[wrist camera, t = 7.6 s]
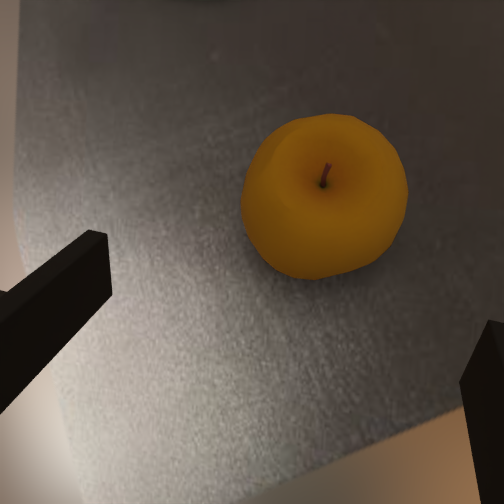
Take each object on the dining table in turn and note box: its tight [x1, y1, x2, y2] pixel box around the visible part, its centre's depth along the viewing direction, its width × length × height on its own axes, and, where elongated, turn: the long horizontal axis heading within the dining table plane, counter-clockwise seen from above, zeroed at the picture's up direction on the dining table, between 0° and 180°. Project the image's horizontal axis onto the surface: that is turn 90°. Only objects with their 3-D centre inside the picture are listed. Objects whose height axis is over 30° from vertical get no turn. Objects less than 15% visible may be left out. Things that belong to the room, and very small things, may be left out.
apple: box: [241, 113, 409, 280], centre depth 24 cm, size 8×8×9 cm
